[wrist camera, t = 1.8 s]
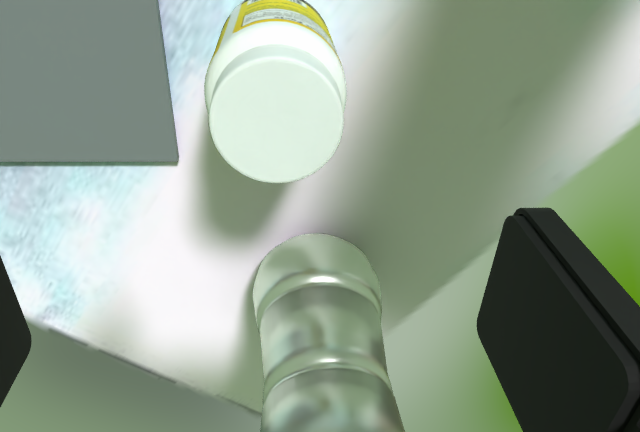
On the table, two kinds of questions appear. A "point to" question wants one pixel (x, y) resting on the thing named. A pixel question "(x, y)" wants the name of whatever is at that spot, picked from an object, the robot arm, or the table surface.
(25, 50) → the mat
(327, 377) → the plastic bottle
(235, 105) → the supplement bottle
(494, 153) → the table surface
